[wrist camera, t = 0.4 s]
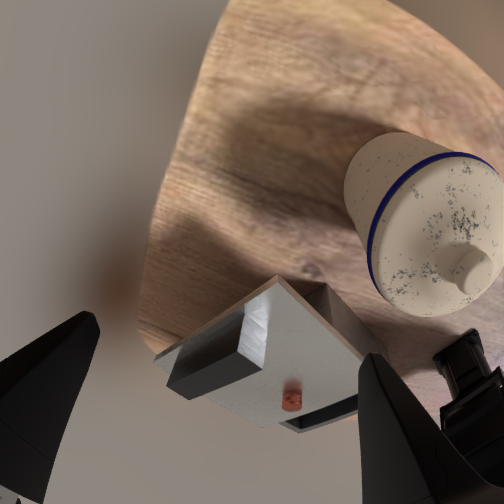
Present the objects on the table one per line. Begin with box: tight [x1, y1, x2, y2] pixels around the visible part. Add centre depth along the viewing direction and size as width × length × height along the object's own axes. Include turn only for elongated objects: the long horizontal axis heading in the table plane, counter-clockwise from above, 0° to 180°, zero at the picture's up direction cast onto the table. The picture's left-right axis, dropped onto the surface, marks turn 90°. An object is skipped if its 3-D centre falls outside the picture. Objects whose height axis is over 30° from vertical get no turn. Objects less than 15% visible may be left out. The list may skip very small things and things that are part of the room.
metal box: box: [279, 283, 391, 433], centre depth 26 cm, size 12×12×6 cm
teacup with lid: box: [344, 132, 504, 317], centre depth 14 cm, size 12×9×12 cm
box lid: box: [153, 274, 364, 428], centre depth 19 cm, size 13×13×4 cm
